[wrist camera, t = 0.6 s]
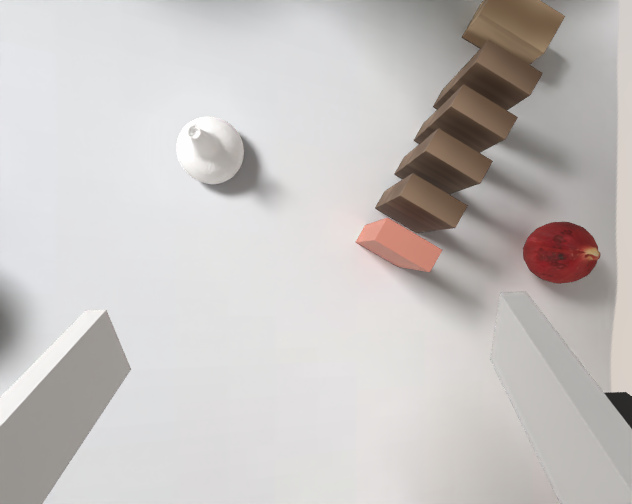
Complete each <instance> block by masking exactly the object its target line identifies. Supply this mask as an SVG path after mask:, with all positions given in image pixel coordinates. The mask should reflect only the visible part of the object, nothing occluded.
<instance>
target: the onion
mask: <svg viewBox="0 0 632 504" xmlns="http://www.w3.org/2000/svg"><path fill="white" fill-rule="evenodd" d="M523 257H524V260H525V262H526V264H527V266H528V268H529V270H530V271H531V272H532V273H534V274H535V275H537V276H538V277H539V278H541V279H543V280H546V281H549V282H553V283H568V282H574V281H577V280H579V279H581V278H583V277H585V276H587V275H588V274H589V273H590V272H591V271H592V269H593V268H594V267H595V265H596V263H597V260H598V259H599V258H600V252H599V251H598V246H597V244H596V242H595V240H594V238H593V236H592V235H591V234H590V233H589V232H588V231H587V230H586V229H584V228H583V227H581V226H578V225H575V224H572V223H569V222H553V223H549V224H546V225H544V226H541V227H539V228H537V229H536V230H535V231H534V232H533V233H532V234H531V235H530V236H529V237H528V238H527V240H526V243H525V245H524V247H523Z"/></svg>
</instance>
